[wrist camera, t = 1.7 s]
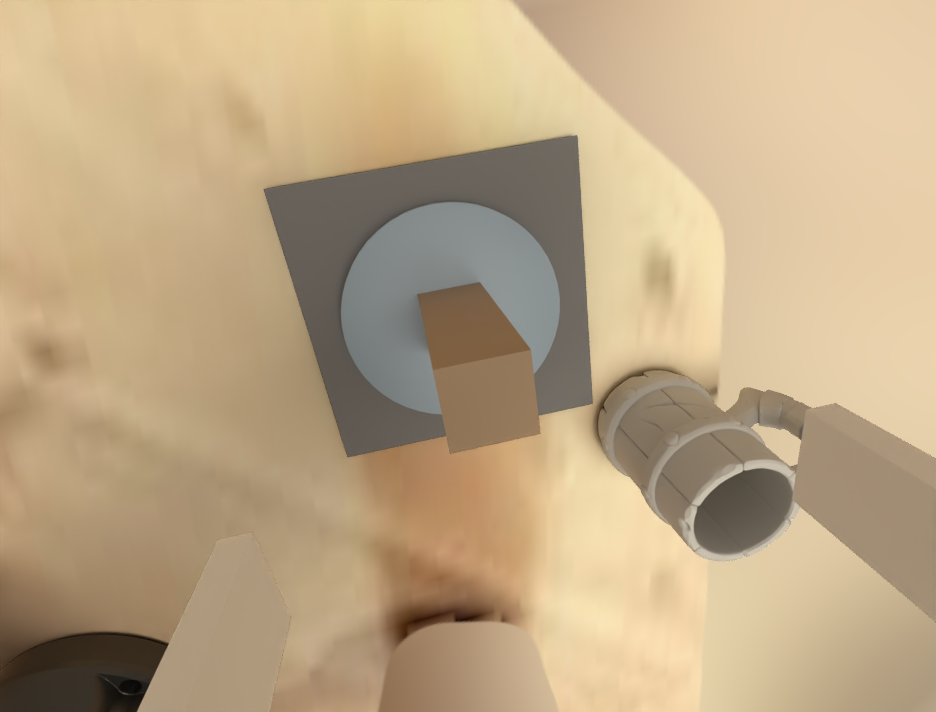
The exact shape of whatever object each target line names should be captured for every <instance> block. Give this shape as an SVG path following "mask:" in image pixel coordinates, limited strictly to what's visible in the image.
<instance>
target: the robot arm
mask: <svg viewBox="0 0 936 712" xmlns="http://www.w3.org/2000/svg"><path fill="white" fill-rule="evenodd" d="M792 500H793V501H794V502H795V503H797V504H798V505H799V506H800V507H801V508H802V509H804V510H805V511H806V512H807V513H808V514H809V515H811V516H812V517H813V518H814V519H816V521H818V522H819V523H820V524H821V525H822V526H823V527H825V528H826V529H827V530H828V531H829V532H831V533H832V534H833V535H834V536H835V537H836V538H838V539H839V540H840V541H841V542H842V543H844V544H845V545H846V546H847V547H848V548H849V549H850V550H852V551H853V552H854V553H855V554H856V555H858V556H859V557H860V558H861V559H862V560H863V561H864V562H866V563H867V564H868V565H869V566H870V567H871V568H873V569H874V570H875V571H876V572H877V573H879V574H880V575H881V576H882V577H883V578H884V579H886V580H887V581H888V582H889V583H890V584H891V585H893V586H894V587H895V588H896V589H897V590H898V591H900V592H901V593H902V594H903V595H904V596H905V597H907V598H908V599H909V600H910V601H911V602H913V603H914V604H915V605H916V606H917V607H918V608H920V609H921V610H922V611H923V612H924V613H925V614H927V615H928V616H929V617H930V618H931V619H932V620H934V621H935V622H936V458H934V457H932V456H931V455H929V454H927V453H925V452H923V451H922V450H920V449H918V448H916V447H914V446H912V445H911V444H909V443H907V442H905V441H903V440H902V439H900V438H898V437H896V436H894V435H892V434H890V433H889V432H887V431H885V430H883V429H882V428H880V427H878V426H876V425H874V424H872V423H871V422H869V421H867V420H865V419H863V418H862V417H860V416H858V415H856V414H854V413H853V412H850V411H849V410H847V409H845V408H843V407H842V406H840V405H838V404H836V403H835V404H830V405H825V406H821V407H816V408H812V409H807V410H806V413H805V420H804V426H803V433H802V439H801V445H800V452H799V458H798V465H797V471H796V477H795V484H794V490H793V497H792ZM290 620H291V616H290V614H289V611H288V609H287V607H286V605H285V602H284V600H283V598H282V596H281V594H280V591H279V589H278V587H277V585H276V582H275V580H274V578H273V576H272V573H271V571H270V569H269V567H268V565H267V562H266V560H265V558H264V556H263V553H262V551H261V549H260V547H259V544H258V542H257V540H256V538H255V535H254V533H253V532H251V533H246V534H242V535H237V536H233V537H228V538H224V539H219V540H217V542H216V544H215V547H214V549H213V551H212V553H211V555H210V557H209V559H208V562H207V564H206V566H205V568H204V570H203V572H202V574H201V576H200V579H199V581H198V583H197V585H196V587H195V589H194V591H193V593H192V596H191V598H190V600H189V602H188V604H187V606H186V608H185V611H184V613H183V615H182V617H181V619H180V621H179V623H178V625H177V628H176V630H175V632H174V634H173V636H172V638H171V640H170V643H169V645H168V646H166V645H163V644H160V643H157V642H154V641H150V640H146V639H141V638H136V637H129V636H120V635H85V636H76V637H70V638H65V639H60V640H56V641H52V642H49V643H46V644H43V645H40V646H38V647H35V648H33V649H31V650H29V651H27V652H25V653H23V654H21V655H20V656H18V657H17V658H15V659H14V660H12V661H11V662H10V663H9V664H7V665H6V666H5V667H4V668H3V669H2V670H1V672H0V712H270V707H271V703H272V699H273V694H274V690H275V686H276V681H277V677H278V672H279V668H280V664H281V659H282V655H283V651H284V646H285V642H286V637H287V633H288V629H289V624H290Z"/></svg>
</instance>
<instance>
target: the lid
mask: <svg viewBox="0 0 936 712" xmlns="http://www.w3.org/2000/svg"><path fill="white" fill-rule="evenodd" d="M559 313H560V296H559V289H558V283H557V280H556V276H555V273H554V270H553V267H552V265H551V263H550V261H549V258H548V257H547V255H546V253H545V252H544V250H543V249H542V247H541V246H540V244H539V243H538V242H537V241H536V240H535V238H534V237H533V236H532V235H531V234H530V233H529V232H528V231H527V230H526V229H524V228H523V227H522V226H521V225H520V224H518V223H517V222H515V221H514V220H512V219H511V218H509V217H507V216H505V215H503V214H501V213H499V212H497V211H495V210H493V209H490V208H487V207H484V206H481V205H478V204H473V203H467V202H460V201H443V202H434V203H429V204H425V205H421V206H417V207H415V208H412V209H410V210H407V211H405V212H403V213H401V214H399V215H397V216H396V217H394V218H392V219H390V220H389V221H388V222H386V223H385V224H384V225H383V226H381V227H380V228H379V229H378V230H377V231H376V232H375V233H374V234H373V235H372V236H371V237H370V238H369V239H368V240H367V241H366V243H365V244H364V245H363V247H362V248H361V249H360V251H359V252H358V254H357V256H356V258H355V260H354V262H353V264H352V266H351V268H350V271H349V274H348V277H347V279H346V282H345V286H344V290H343V295H342V303H341V322H342V329H343V334H344V339H345V342H346V345H347V348H348V351H349V353H350V355H351V357H352V359H353V361H354V363H355V365H356V366H357V368H358V369H359V370H360V372H361V373H362V375H363V376H364V377H365V378H366V379H367V380H368V381H369V382H370V384H371V385H372V386H373V387H375V388H376V389H377V390H378V391H379V392H381V393H382V394H383V395H385V396H386V397H388V398H390V399H391V400H393V401H394V402H396V403H399V404H401V405H403V406H405V407H408V408H411V409H414V410H417V411H421V412H426V413H431V414H442V417H443V422H444V427H445V432H446V437H447V441H448V446H449V451H450V454H451V453H456V452H461V451H465V450H470V449H474V448H479V447H483V446H488V445H492V444H497V443H501V442H506V441H510V440H515V439H519V438H524V437H528V436H533V435H537V434H540V425H539V416H538V408H537V399H536V390H535V381H534V374H535V373H536V371H537V370H538V369H539V367H540V366H541V364H542V363H543V361H544V360H545V358H546V356H547V354H548V352H549V351H550V349H551V346H552V343H553V341H554V338H555V335H556V331H557V327H558V322H559Z"/></svg>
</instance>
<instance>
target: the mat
mask: <svg viewBox="0 0 936 712" xmlns="http://www.w3.org/2000/svg"><path fill="white" fill-rule="evenodd" d="M264 192H265V195H266V198H267V201H268V205H269V208H270V211H271V214H272V217H273V221H274V224H275V227H276V230H277V233H278V237H279V240H280V243H281V246H282V249H283V253H284V256H285V259H286V262H287V265H288V269H289V272H290V275H291V278H292V281H293V284H294V288H295V291H296V294H297V297H298V300H299V304H300V307H301V310H302V313H303V316H304V320H305V323H306V326H307V329H308V332H309V336H310V339H311V342H312V345H313V348H314V352H315V355H316V358H317V361H318V364H319V367H320V371H321V374H322V377H323V380H324V383H325V387H326V390H327V393H328V396H329V399H330V403H331V406H332V409H333V412H334V415H335V419H336V422H337V425H338V428H339V431H340V435H341V438H342V441H343V444H344V447H345V451H346V454H347V457H351V456H356V455H361V454H365V453H370V452H374V451H379V450H383V449H388V448H393V447H397V446H402V445H406V444H411V443H415V442H420V441H425V440H429V439H434V438H438V437H443V436H446V432H445V427H444V422H443V417H442V414H431V413H426V412H421V411H417V410H414V409H411V408H408V407H405V406H403V405H401V404H399V403H396V402H394V401H393V400H391V399H390V398H388V397H386V396H385V395H383V394H382V393H381V392H379V391H378V390H377V389H376V388H375V387H373V386H372V385H371V384H370V382H369V381H368V380H367V379H366V378H365V377H364V376H363V375H362V373H361V372H360V370H359V369H358V368H357V366H356V365H355V363H354V361H353V359H352V357H351V355H350V353H349V351H348V348H347V345H346V342H345V339H344V334H343V329H342V322H341V303H342V295H343V290H344V286H345V282H346V279H347V277H348V274H349V271H350V268H351V266H352V264H353V262H354V260H355V258H356V256H357V254H358V252H359V251H360V249H361V248H362V247H363V245H364V244H365V243H366V241H367V240H368V239H369V238H370V237H371V236H372V235H373V234H374V233H375V232H376V231H377V230H378V229H379V228H380V227H381V226H383V225H384V224H385V223H386V222H388V221H389V220H390V219H392V218H394V217H396V216H397V215H399V214H401V213H403V212H405V211H407V210H410V209H412V208H415V207H417V206H421V205H425V204H429V203H434V202H443V201H460V202H467V203H473V204H478V205H481V206H484V207H487V208H490V209H493V210H495V211H497V212H499V213H501V214H503V215H505V216H507V217H509V218H511V219H512V220H514V221H515V222H517V223H518V224H520V225H521V226H522V227H523V228H524V229H526V230H527V231H528V232H529V233H530V234H531V235H532V236H533V237H534V238H535V240H536V241H537V242H538V243H539V244H540V246H541V247H542V249H543V250H544V252H545V253H546V255H547V257H548V258H549V261H550V263H551V265H552V267H553V270H554V273H555V276H556V280H557V283H558V289H559V296H560V313H559V322H558V327H557V331H556V335H555V338H554V341H553V343H552V346H551V349H550V351H549V352H548V354H547V356H546V358H545V360H544V361H543V363H542V364H541V366H540V367H539V369H538V370H537V371H536V373H535V374H534V381H535V390H536V399H537V408H538V416H539V415H543V414H548V413H553V412H557V411H562V410H566V409H571V408H575V407H580V406H585V405H589V404H593V401H592V383H591V365H590V348H589V330H588V313H587V295H586V278H585V260H584V243H583V225H582V208H581V190H580V173H579V155H578V138H577V135H576V136H570V137H564V138H558V139H552V140H547V141H541V142H535V143H529V144H523V145H518V146H512V147H506V148H500V149H494V150H488V151H483V152H477V153H471V154H465V155H459V156H453V157H448V158H442V159H436V160H430V161H424V162H418V163H413V164H407V165H401V166H395V167H389V168H383V169H378V170H372V171H366V172H360V173H354V174H349V175H343V176H337V177H331V178H325V179H319V180H314V181H308V182H302V183H296V184H290V185H284V186H279V187H273V188H267V189H264Z"/></svg>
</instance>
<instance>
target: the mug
mask: <svg viewBox="0 0 936 712" xmlns="http://www.w3.org/2000/svg"><path fill="white" fill-rule="evenodd" d="M604 408H605V409H601V411H600V413H599V418H598V432H599V436H600V439H601V442H602V447H603V450H604V452H605V454H606V456H607V458H608V459H609V461H610V462H611V463H612V465H613V466H614V467H615V468H616V469H617V470H618V471H619V472H621V473H622V474H624V475H626V476H628V477H630V478H631V479H632V480H633V481H634V483H635V484H636V485H637V486H638V487H639V488H640V490H641V493H642V495H643V496H644V498H645V500H646V502H647V504H648V505H649V507H650V508H651V509H652V511H653V512H654V513H655V514H656V515H657V516H658V517H659V518H660V519H661V520H662V521H664V522H665V523H667V524H669V525H671V526H672V528H673V529H674V530H675V531H676V532H677V533H678V535H679V536H680V537H681V538H682V539H683V541H684V542H685V543H686V544H687V545H688V546H689V547H690V548H691V549H692V550H693V551H694V552H695V553H696V554H697V555H699V556H700V557H703V558H705V559H708V560H713V561H733V560H737V559H739V558H742V557H743V555H744V556H750V555H752V554H755V553H757V552H758V551H760V550H762V549H763V548H765V547H767V546H768V545H769V544H771V543H772V542H773V541H775V540H776V539H778V538H779V537H780V536H781V535H782V534H783V533H784V532H785V531H786V529H788V527H789V526H790V524H791V521H790V519H794V518H795V516H796V515H797V513H798V511H799V508H800V506H799V505H798V504H797V503H795V502H794V501H793V500H792V497H793V490H794V484H795V477H796V471H797V465H798V464H797V465H794V466H789V465H787V464H786V463H784V461H782V460H781V459H780V458H779V457H778V456H777V455H775V454H774V453H773V452H772V451H771V450H769V449H768V448H767V447H766V446H765V444H764V442H763V440H762V438H761V437H760V436H759V435H758V434H757V433H756V432H755V431H754V430H753V429H752V428H751V427H752V426H753V425H754V424H756V423H759V425H760V426H765V427H773V428H776V429H779V430H781V429H785V430H788V431H789V432H790V433H791V434H793V435H795V436H796V437H798V438H799V439H800V440H801V439H802V433H803V426H804V420H805V413H806V410H807V409H812V408H811V407H808V406H806V405H805V404H803V403H800V402H798V401H795V400H794V399H793V398H791V397H789V396H787V395H784V394H781V393H778V392H774V391H771V390H767V391H766V392H763V391H760V390H756V389H753V388H743V389H742V390H741V391H740V394H739V399H738V401H737V402H736V404H735V405H733V407H731V408H730V409H729V410H728V411H726V412H723V411H722V410H721V409H720V408H719V407H717V406H716V405H715V404H714V401H713V399H712V397H711V396H710V394H709V393H708V392H707V391H706V390H705V389H704V388H703V387H702V386H701V385H699V384H698V383H697V382H695V381H694V380H692V379H690V378H688V377H686V376H683V375H678V374H674V373H672V372H668V371H663V370H654V371H646V372H643V376H638V377H635V376H634V377H630V378H629V379H627V380H626V381H624V382H623V383H622V384H620V385H619V386H617V387H616V388H615V389H614V390H613V391H612V392H611V393H610V394H609V396H608V398H607V399H606V401H605V402H604Z"/></svg>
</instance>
